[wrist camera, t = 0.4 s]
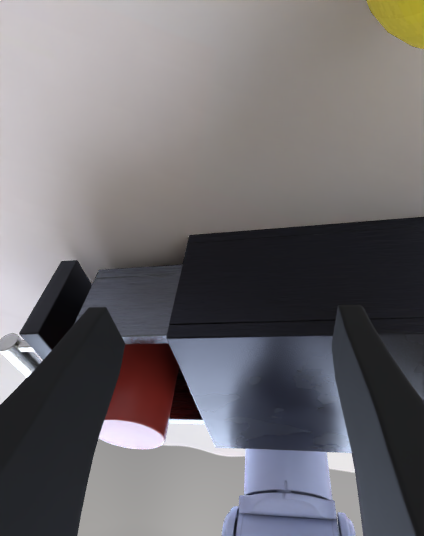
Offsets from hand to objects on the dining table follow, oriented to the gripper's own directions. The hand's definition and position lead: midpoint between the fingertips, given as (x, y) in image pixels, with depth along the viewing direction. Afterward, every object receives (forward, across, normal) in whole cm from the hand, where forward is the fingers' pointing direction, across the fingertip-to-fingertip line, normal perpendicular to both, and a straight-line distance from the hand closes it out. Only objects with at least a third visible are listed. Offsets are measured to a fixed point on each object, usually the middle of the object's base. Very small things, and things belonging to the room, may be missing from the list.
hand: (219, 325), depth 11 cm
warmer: (+10, -4, +11) cm, 15 cm away
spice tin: (+8, +7, +11) cm, 15 cm away
